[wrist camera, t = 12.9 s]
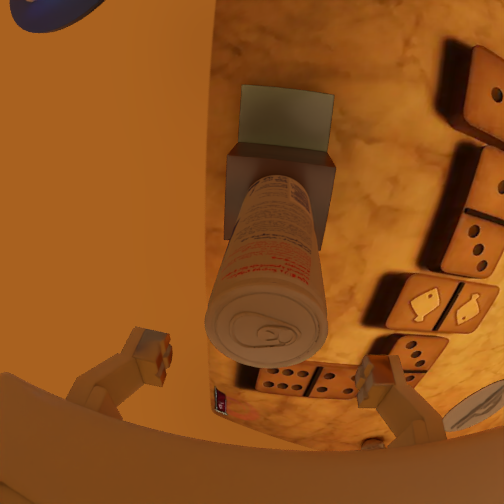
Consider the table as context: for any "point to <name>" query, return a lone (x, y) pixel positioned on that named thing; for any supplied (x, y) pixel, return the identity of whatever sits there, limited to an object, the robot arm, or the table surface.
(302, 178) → the stand
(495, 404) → the plate
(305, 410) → the table surface
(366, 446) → the seashell
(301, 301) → the beverage can
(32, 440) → the robot arm
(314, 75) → the table surface
